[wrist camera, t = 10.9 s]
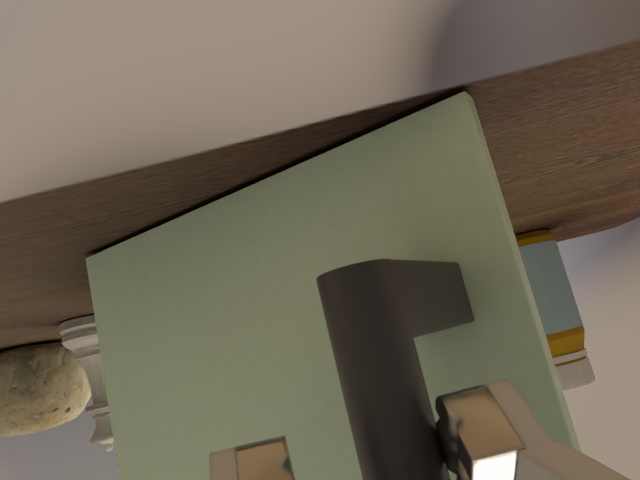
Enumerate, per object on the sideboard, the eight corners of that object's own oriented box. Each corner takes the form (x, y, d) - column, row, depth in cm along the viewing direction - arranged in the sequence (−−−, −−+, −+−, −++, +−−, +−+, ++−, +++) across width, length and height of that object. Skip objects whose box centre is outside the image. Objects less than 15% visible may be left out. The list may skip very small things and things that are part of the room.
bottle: (549, 225, 54) (600, 384, 51) (553, 231, 60) (599, 374, 57) (476, 246, 57) (521, 398, 54) (488, 250, 63) (529, 386, 60)
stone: (-73, 411, 46) (38, 474, 47) (16, 305, 50) (114, 366, 52) (-49, 411, 54) (43, 463, 56) (25, 320, 59) (109, 372, 61)
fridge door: (-58, 254, 21) (2, 818, 17) (380, 12, 12) (674, 1050, 9) (99, 258, 26) (168, 681, 23) (472, 96, 18) (669, 737, 14)
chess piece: (116, 317, 47) (137, 441, 45) (59, 328, 45) (77, 457, 43) (120, 309, 43) (143, 444, 41) (57, 320, 41) (77, 462, 40)
